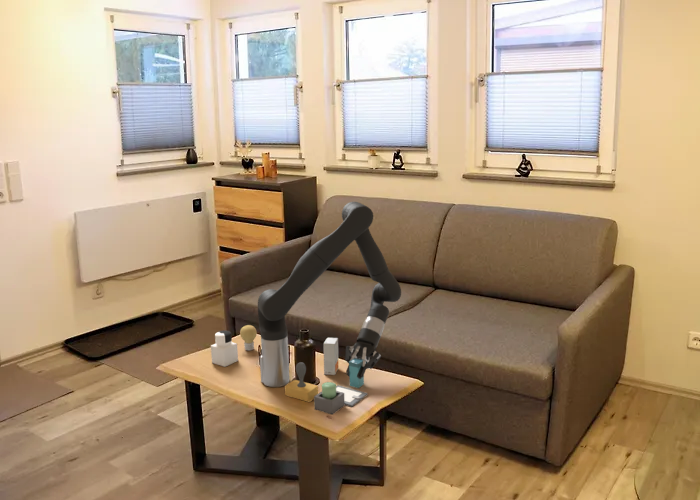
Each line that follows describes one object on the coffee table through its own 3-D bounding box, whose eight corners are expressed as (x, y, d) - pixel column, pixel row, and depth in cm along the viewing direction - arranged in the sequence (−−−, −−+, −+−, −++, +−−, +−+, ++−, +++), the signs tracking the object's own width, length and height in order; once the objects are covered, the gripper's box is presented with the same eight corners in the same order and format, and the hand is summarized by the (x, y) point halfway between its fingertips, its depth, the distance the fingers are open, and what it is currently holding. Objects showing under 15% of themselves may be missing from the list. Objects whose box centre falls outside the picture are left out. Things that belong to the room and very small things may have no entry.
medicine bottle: (225, 356, 254) (223, 327, 252) (238, 360, 250) (236, 331, 247) (211, 363, 249) (209, 333, 246) (224, 367, 245) (222, 337, 242)
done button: (319, 397, 211) (318, 386, 210) (327, 392, 214) (327, 381, 213) (331, 401, 208) (330, 389, 207) (339, 395, 212) (338, 384, 211)
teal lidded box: (349, 385, 227) (348, 361, 225) (355, 381, 230) (354, 357, 228) (358, 388, 225) (358, 364, 223) (364, 384, 229) (363, 360, 226)
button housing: (314, 409, 211) (314, 396, 210) (326, 400, 217) (326, 388, 216) (332, 414, 208) (332, 401, 206) (344, 405, 213) (344, 392, 212)
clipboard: (321, 398, 219) (321, 395, 218) (337, 386, 227) (337, 384, 227) (351, 406, 212) (351, 404, 212) (367, 394, 221) (367, 391, 220)
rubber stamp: (318, 395, 221) (317, 362, 218) (309, 402, 216) (307, 368, 213) (294, 389, 226) (293, 356, 223) (284, 395, 221) (283, 362, 218)
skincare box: (335, 375, 236) (334, 344, 233) (323, 374, 237) (322, 343, 234) (339, 368, 242) (338, 337, 239) (327, 367, 243) (326, 337, 240)
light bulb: (260, 349, 261) (259, 325, 259) (248, 353, 257) (246, 329, 254) (250, 345, 265) (249, 321, 263) (238, 349, 261) (236, 326, 259)
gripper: (350, 323, 233) (331, 368, 226) (384, 331, 226) (367, 376, 219) (358, 333, 239) (340, 376, 232) (392, 340, 231) (375, 385, 224)
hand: (353, 376), depth 225 cm, fingers closed on teal lidded box, 3 cm apart
